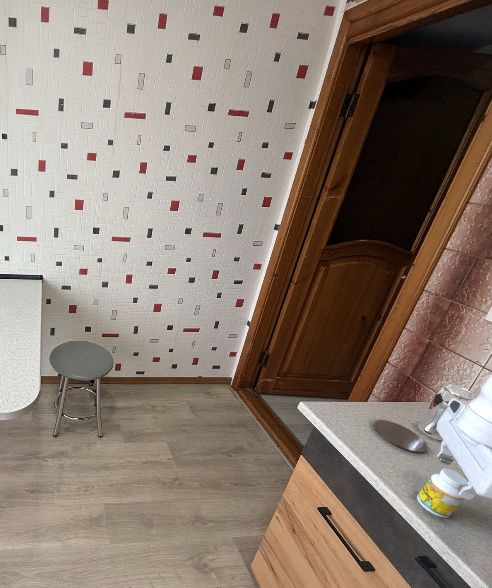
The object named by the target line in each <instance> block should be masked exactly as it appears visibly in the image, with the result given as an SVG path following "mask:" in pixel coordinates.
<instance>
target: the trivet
mask: <svg viewBox="0 0 492 588" xmlns="http://www.w3.org/2000/svg"><path fill="white" fill-rule="evenodd" d="M373 427H374V430H375V432H377V434H378V435H379V436H380V437H381V438H382V439H384V440H385V441H386V442H388V443H390V444H391V445H393V446H395V447H396V448H399V449H400V450H403V451H406V452H408V453H409V452H410V453H414V454H423V453H425V452H426V451H427V444H426V442H425V441H424V440H423V439H422V437H420V436H419V435H418V434H416V432H414V431H412V430H410V429H409V428H407V427H406V426H403V425H401V424H399V423H396V422H393V421H391V420H386V419H385V420H384V419H379V420H377V421H375V422H374V424H373Z"/></svg>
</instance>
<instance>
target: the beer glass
mask: <svg viewBox="0 0 492 588" xmlns="http://www.w3.org/2000/svg"><path fill="white" fill-rule="evenodd" d="M477 396H478V395H477V394H475V393H474V392H472V391H471V390H470V389H467V388H465V387H463V386H460V385H457V384H454V383H449V382H448V383H443V385H442V386H441V387H440V388H439V390H437V392H436V394H435V395H434V396H433V397H432V400H431V402H430V405H429V408H428V410H427V414H426V416H425V417H424V419H423V420H421V421H420V422H419V423H418V424H417V428H418V430H419V431H420V432H422V433H423V434H424V435H426V436H427V437H430V438H431V439H434V440H436V441H441V442H442V441H443V439H442V437H441V436H440V434H439V432H438V431H437V422H438V420H439V418H440V417H441V415H442V414H443V412H444V411H445V410H446V409H447V408H448V407H449V406H448V403H449V401H450V400H451V399H452V398H455V399H459V400H463V401H467V402H470V401H471V400H473V399H475V398H476V397H477Z"/></svg>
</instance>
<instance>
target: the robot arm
mask: <svg viewBox="0 0 492 588" xmlns="http://www.w3.org/2000/svg"><path fill="white" fill-rule="evenodd" d="M476 396H477V397H476V398H475V399H473V400H471V401H470V402H467V401H463V400H459V399H455V398H452V399H451V400H450V401H449V403H448V406H449V407H448V408H447V409H446V410H445V411H444V412H443V414H442V415H441V417H440V418H439V420H438V422H437V431H438V432H439V434H440V436H441V437H442V439H443V441H441V444H440V448H439V449H440V450H439V453H437V455H436V457H437V459H438V460H439V462H440V463H442V464H444V465H447V466H449V465H451V464H452V463H453V462H454V461H456V463H457V465H458V466H459V467H460V469H461V471H462V472H463V474H464V475H465V478H466V479H467V480H468V482H467V484H468V486H463V485H460V486H459V487H458V488H457V489H456V490H457V492H458V494H459V496H460V497H462V498H464V500H467V501H472V500H473V499H474V498H475V497H476V496H480V497H482V498H485V499H487V500H490V501H492V373H490V375H489V376H488V377H487V378H486V380H485V381H484V382H483V383H482V384H481V386H480V391H479V393H478V395H476Z"/></svg>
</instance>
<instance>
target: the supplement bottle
mask: <svg viewBox="0 0 492 588" xmlns="http://www.w3.org/2000/svg"><path fill="white" fill-rule="evenodd" d="M468 481H469V480H468V478H467V477H466V476H463V474H461V473H459V472H457V471H456V470H453V469H450V468H443V469H441V470H440V471H439V473H434V474H432V475H431V476H430V477H429V478H428V480H427V481H426V483H425V484H424V485H423V487H422V488H421V489H420V491H419V492H418V493H417V496H416V499H417V501H418V503H419V504H420V505H421V506H422V507H423V508H424V509H425V510H426V511H427V512H429V513H431V514H432V515H434V516H437V517H439V518H442V519H443V518H445V519H446V518H450V517H451V515H453V513H454V512H455V511H456V510H457V508H458V507H459V506H460V505H461V504H462V502H463V501H464V500H465V499H464V498H462V497H460V496H459V494H458V492H457V490H456V489H457V488H458V487H459V486H460V485H463V486H468V484H467V482H468Z"/></svg>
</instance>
